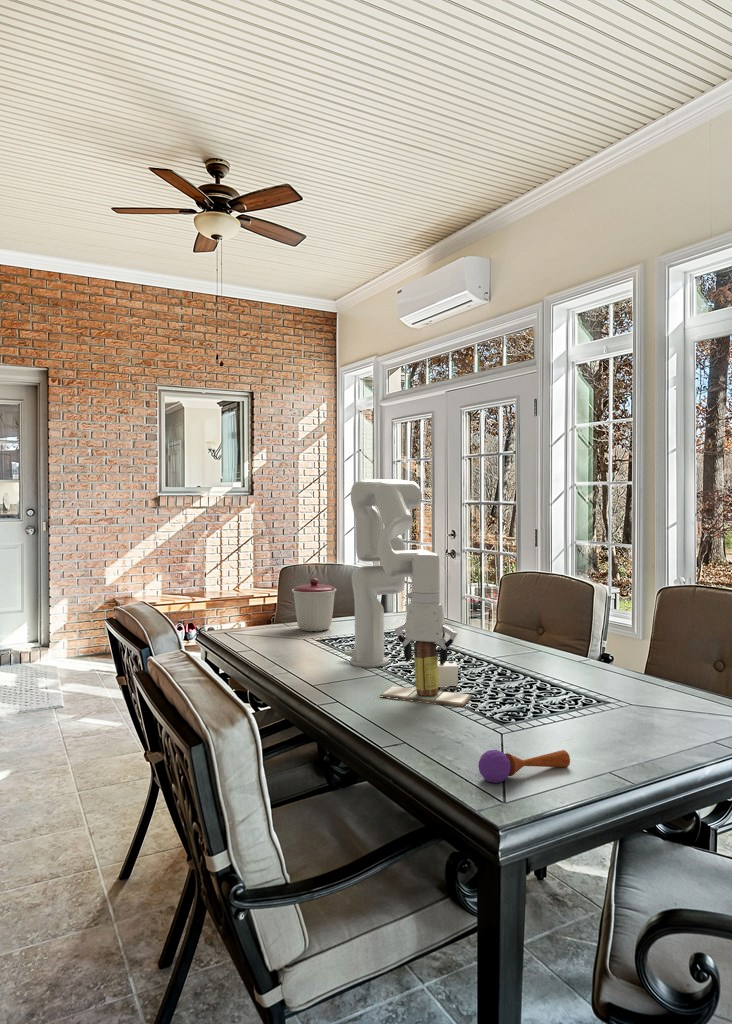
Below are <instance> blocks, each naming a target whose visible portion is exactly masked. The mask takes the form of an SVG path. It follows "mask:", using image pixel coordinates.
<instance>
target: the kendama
mask: <svg viewBox="0 0 732 1024" xmlns="http://www.w3.org/2000/svg"><path fill="white" fill-rule="evenodd" d="M478 760H479V761H478V771H479V774H480V775H481V776H482V778H483V779H484V780H486V781H487V782H489V783H492V784H497V783H502V782H504V781H505V780H507V778H509V777H512V776H514V775H515V774H517V772H519V771H520V770H521V769H522V768H523V767H535V768H536V767H538V768H539V767H540V768H541V767H543V768H544V767H545V768H568V767H569V766H570V764H571V756H570V755H569V753H568V752H567V750H565V749H561V750H558V751H554V752H551V753H550V752H549V753H545V754H543V755H538V756H534V757H530V758H525V759H521V758H519V757H517V756H514V755H513V754H510V753H508V752H507V753H504V752H502V751H501V750H498V749H490V750H486V751H485V752H484V753H483V754H482V755H481V756H480V758H479V759H478Z"/></svg>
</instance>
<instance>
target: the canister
mask: <svg viewBox="0 0 732 1024" xmlns="http://www.w3.org/2000/svg"><path fill="white" fill-rule="evenodd" d="M309 583H310V584H309ZM309 583H308V584H300V585H296V586H295V587H294V588H292V589H291V591H292V593H293V600H294V607H295V616H296V622H297V626H298V628H299V630H301V631H304V632H312V631H315V632H322V631H323V630H324V631H327V630H328V629H330V627H331V625H332V620H333V613H334V604H335V594H336V591H337V588H335V587H334V586H332V585H329V584H323V583H319V579H318V578H316V577H312V578H311V579H309Z"/></svg>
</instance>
